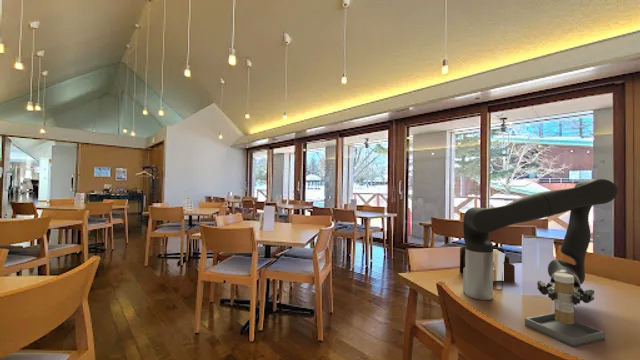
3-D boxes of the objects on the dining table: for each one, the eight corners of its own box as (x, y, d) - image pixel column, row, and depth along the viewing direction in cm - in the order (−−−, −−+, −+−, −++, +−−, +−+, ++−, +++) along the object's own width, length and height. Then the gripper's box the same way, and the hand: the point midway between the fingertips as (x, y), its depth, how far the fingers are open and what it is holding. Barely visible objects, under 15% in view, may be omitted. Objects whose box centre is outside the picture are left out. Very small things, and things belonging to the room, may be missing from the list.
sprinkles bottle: (555, 316, 89) (554, 271, 90) (575, 321, 86) (574, 274, 87) (553, 321, 86) (552, 274, 86) (574, 326, 83) (573, 277, 83)
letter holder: (459, 274, 142) (459, 244, 142) (503, 276, 140) (503, 246, 141) (467, 280, 132) (468, 248, 132) (515, 283, 131) (515, 250, 131)
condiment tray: (524, 324, 90) (524, 318, 90) (554, 319, 94) (554, 312, 95) (573, 347, 78) (574, 339, 78) (604, 339, 82) (604, 332, 82)
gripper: (537, 267, 102) (532, 280, 89) (594, 276, 93) (598, 291, 80) (537, 289, 102) (532, 305, 89) (594, 300, 93) (598, 320, 80)
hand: (563, 298), depth 84 cm, fingers closed on sprinkles bottle, 4 cm apart
